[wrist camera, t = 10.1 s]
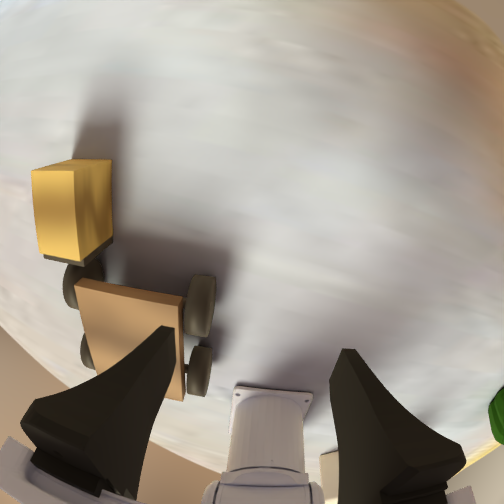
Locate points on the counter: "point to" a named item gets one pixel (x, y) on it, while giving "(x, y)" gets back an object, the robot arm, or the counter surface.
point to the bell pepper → (497, 417)
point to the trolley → (141, 323)
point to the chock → (73, 209)
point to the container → (330, 476)
